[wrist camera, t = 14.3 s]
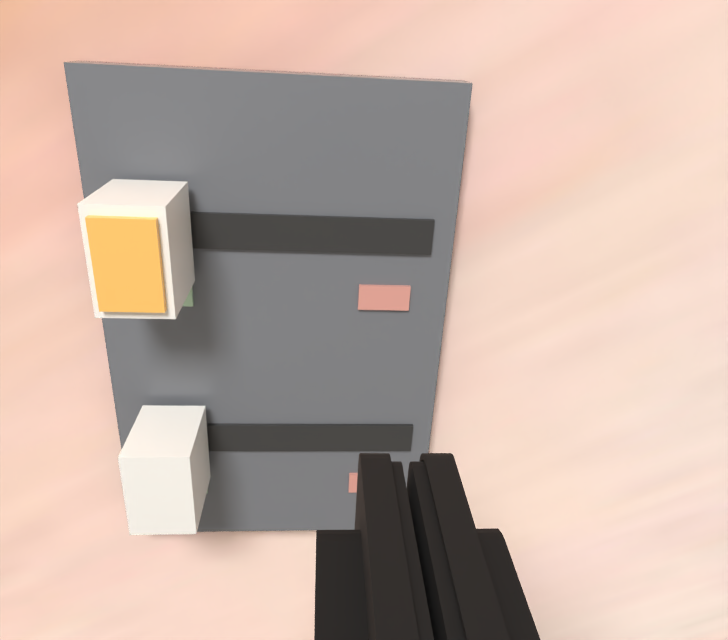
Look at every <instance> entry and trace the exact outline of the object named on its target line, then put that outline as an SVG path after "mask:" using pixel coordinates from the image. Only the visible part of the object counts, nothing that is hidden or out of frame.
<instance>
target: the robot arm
mask: <svg viewBox="0 0 728 640" xmlns="http://www.w3.org/2000/svg"><path fill="white" fill-rule="evenodd" d="M315 640H540V638H539V635H538V632H537V629H536V626H535V624H534V621H533V618H532V615H531V612H530V610H529V607H528V604H527V601H526V598H525V595H524V593H523V590H522V587H521V584H520V581H519V579H518V576H517V573H516V570H515V567H514V565H513V562H512V559H511V556H510V553H509V551H508V548H507V545H506V542H505V539H504V537H503V535H502V533H501V532H500V531H499V529H476V528H475V524H474V521H473V518H472V514H471V511H470V508H469V505H468V501H467V498H466V495H465V492H464V488H463V485H462V482H461V479H460V475H459V472H458V469H457V465H456V462H455V459H454V456H453V455H452V454H451V453H422V454H421V456H420V460H419V461H411V462H410V463H409V468H408V478H407V488H406V482H405V477H404V471H403V466H402V462H401V461H391V457H390V454H389V453H360V454H359V460H358V477H357V494H356V512H355V529H354V530H317V534H316V583H315Z"/></svg>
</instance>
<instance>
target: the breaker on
mask: <svg viewBox="0 0 728 640" xmlns="http://www.w3.org/2000/svg"><path fill="white" fill-rule="evenodd" d="M118 462H119V468H120V475H121V481H122V488H123V494H124V501H125V507H126V514H127V520H128V527H129V533H130V535H156V534H197V530H198V526H199V522H200V518H201V513H202V509H203V505H204V501H205V497H206V493H207V489H208V485H209V481H210V477H211V476H210V462H209V448H208V435H207V421H206V407H205V406H160V405H143V406H142V408H141V410H140V412H139V414H138V416H137V418H136V421H135V423H134V425H133V427H132V429H131V431H130V433H129V435H128V437H127V439H126V442H125V444H124V446H123V448H122V450H121V452H120V454H119V456H118Z"/></svg>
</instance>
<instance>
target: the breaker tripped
mask: <svg viewBox="0 0 728 640" xmlns="http://www.w3.org/2000/svg"><path fill="white" fill-rule="evenodd" d="M77 205H78V211H79V218H80V224H81V231H82V237H83V244H84V250H85V256H86V263H87V269H88V276H89V282H90V289H91V295H92V302H93V308H94V315H95V318H136V319H176V318H177V316H178V314H179V312H180V310H181V308H182V306H183V304H184V302H185V300H186V298H187V296H188V294H189V292H190V290H191V288H192V286H193V284H194V282H195V273H194V260H193V246H192V233H191V219H190V206H189V192H188V182H185V181H157V180H129V179H112V180H111V181H109V182H108V183H106V184H105V185H103V186H102V187H101V188H99V189H98V190H96V191H95V192H93V193H92V194H91V195H89V196H88V197H86V198H85V199H83V200H82V201H81V202H79V203H78V204H77Z"/></svg>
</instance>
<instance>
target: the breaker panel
mask: <svg viewBox="0 0 728 640" xmlns="http://www.w3.org/2000/svg"><path fill="white" fill-rule="evenodd" d="M64 68H65V74H66V81H67V88H68V94H69V101H70V108H71V114H72V121H73V128H74V134H75V141H76V148H77V155H78V161H79V168H80V175H81V181H82V188H83V195H84V199H85V198H86V197H88V196H89V195H91V194H92V193H93V192H95V191H96V190H98V189H99V188H101V187H102V186H103V185H105V184H106V183H108V182H109V181H111V180H112V179H129V180H157V181H185V182H188V192H189V206H190V219H191V233H192V246H193V260H194V273H195V282H194V284H193V286H192V288H191V290H190V292H189V294H188V296H187V298H186V300H185V302H184V304H183V306H182V308H181V310H180V312H179V314H178V316H177V318H176V319H136V318H102V322H103V328H104V335H105V342H106V348H107V355H108V362H109V369H110V375H111V382H112V389H113V395H114V402H115V409H116V415H117V422H118V429H119V435H120V442H121V449H122V448H123V446H124V444H125V442H126V439H127V437H128V435H129V433H130V431H131V429H132V427H133V425H134V423H135V421H136V418H137V416H138V414H139V412H140V410H141V408H142V406H143V405H160V406H205V407H206V421H207V435H208V448H209V462H210V476H211V477H210V481H209V485H208V489H207V493H206V497H205V501H204V505H203V509H202V513H201V518H200V522H199V526H198V530H197V532H203V531H286V530H354V529H355V512H356V494H357V477H358V460H359V454H360V453H389V454H390V457H391V461H401V462H402V466H403V471H404V477H405V482H406V488H407V478H408V468H409V463H410V462H411V461H419V460H420V456H421V454H422V453H428V450H429V442H430V433H431V425H432V417H433V408H434V400H435V392H436V383H437V375H438V367H439V358H440V350H441V342H442V333H443V325H444V317H445V308H446V300H447V292H448V283H449V275H450V267H451V258H452V250H453V242H454V233H455V225H456V217H457V208H458V200H459V191H460V183H461V175H462V166H463V158H464V150H465V141H466V133H467V125H468V116H469V108H470V100H471V91H472V83H470V82H467V81H460V80H440V79H421V78H401V77H382V76H362V75H343V74H324V73H304V72H285V71H265V70H246V69H226V68H207V67H188V66H168V65H149V64H129V63H110V62H90V61H72V62H64Z"/></svg>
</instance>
